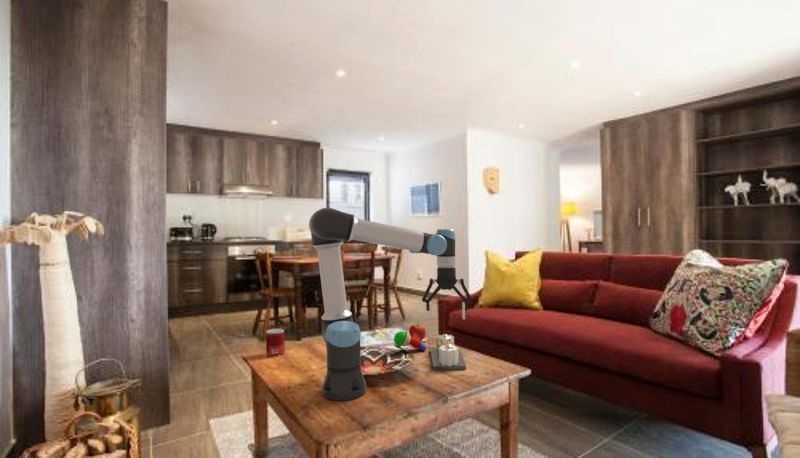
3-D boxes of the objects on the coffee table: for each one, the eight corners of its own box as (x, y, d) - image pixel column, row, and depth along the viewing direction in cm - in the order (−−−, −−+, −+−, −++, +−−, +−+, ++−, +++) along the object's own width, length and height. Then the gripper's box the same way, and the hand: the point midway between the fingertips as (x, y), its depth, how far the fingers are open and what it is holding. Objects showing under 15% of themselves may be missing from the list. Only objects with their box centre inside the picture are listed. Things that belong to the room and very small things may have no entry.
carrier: (433, 369, 161) (432, 348, 161) (430, 350, 186) (430, 332, 186) (466, 369, 160) (465, 348, 160) (458, 350, 185) (458, 332, 185)
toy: (416, 354, 192) (389, 340, 189) (424, 339, 192) (397, 325, 190) (421, 360, 183) (393, 346, 180) (429, 344, 184) (401, 330, 181)
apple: (418, 338, 208) (418, 318, 208) (428, 341, 201) (428, 321, 201) (406, 341, 203) (405, 321, 203) (416, 344, 196) (415, 324, 196)
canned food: (288, 353, 186) (287, 329, 186) (274, 358, 180) (273, 333, 180) (276, 350, 190) (276, 327, 190) (262, 355, 184) (262, 331, 184)
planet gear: (440, 366, 161) (439, 351, 161) (438, 359, 169) (438, 345, 169) (459, 365, 161) (459, 350, 161) (457, 359, 168) (457, 345, 168)
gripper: (415, 267, 162) (416, 320, 162) (478, 267, 161) (479, 320, 161) (415, 266, 169) (416, 316, 169) (475, 265, 168) (476, 316, 168)
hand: (447, 318), depth 165 cm, fingers open, 13 cm apart
